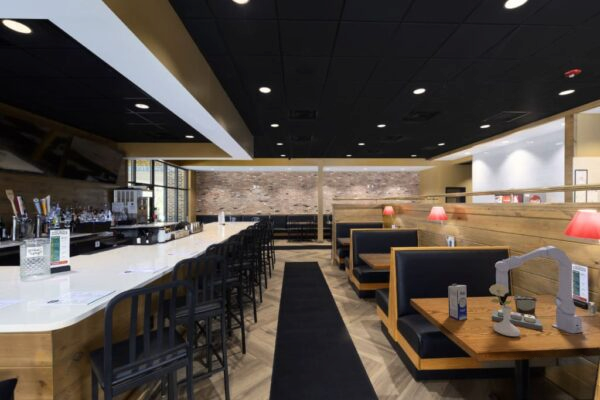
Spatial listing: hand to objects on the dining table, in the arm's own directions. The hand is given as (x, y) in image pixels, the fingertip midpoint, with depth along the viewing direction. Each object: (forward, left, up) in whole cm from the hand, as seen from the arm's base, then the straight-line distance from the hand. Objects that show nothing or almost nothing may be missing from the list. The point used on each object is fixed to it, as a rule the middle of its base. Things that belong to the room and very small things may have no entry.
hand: (502, 305), depth 161 cm
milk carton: (+7, +24, -8) cm, 26 cm away
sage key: (0, 0, -6) cm, 6 cm away
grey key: (-5, -4, -6) cm, 8 cm away
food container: (+5, -21, -8) cm, 23 cm away
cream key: (-9, -8, -6) cm, 13 cm away
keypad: (-5, -4, -8) cm, 10 cm away
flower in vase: (-15, +15, -8) cm, 23 cm away
